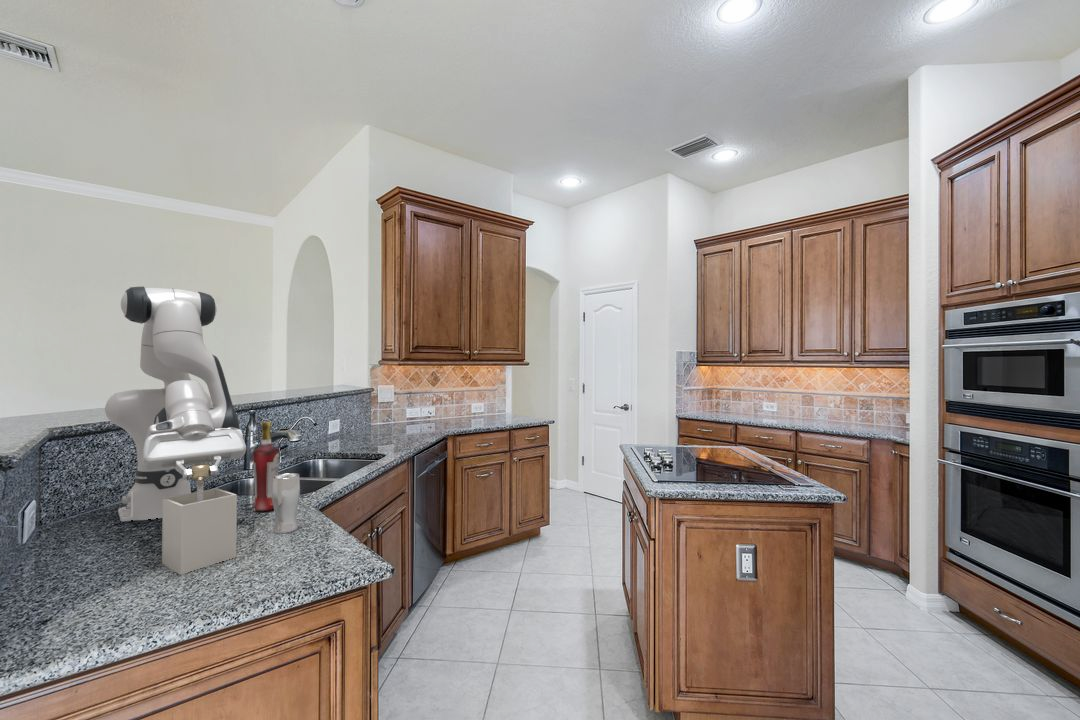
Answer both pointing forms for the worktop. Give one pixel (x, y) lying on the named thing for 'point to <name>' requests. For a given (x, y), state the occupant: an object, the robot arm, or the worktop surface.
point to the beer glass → (285, 501)
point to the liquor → (265, 470)
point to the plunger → (200, 477)
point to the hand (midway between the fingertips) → (201, 476)
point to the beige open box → (199, 530)
